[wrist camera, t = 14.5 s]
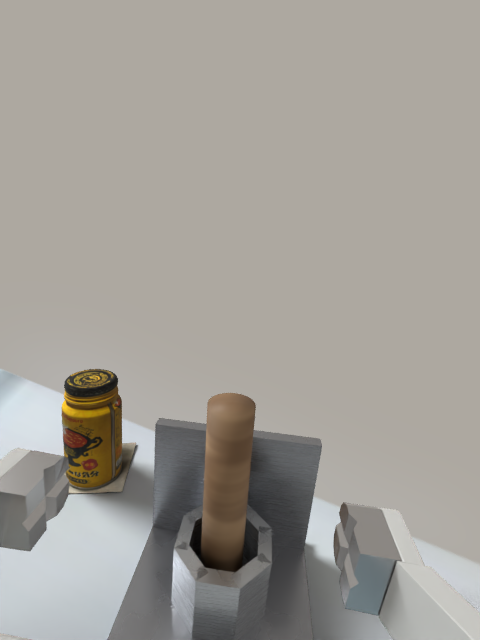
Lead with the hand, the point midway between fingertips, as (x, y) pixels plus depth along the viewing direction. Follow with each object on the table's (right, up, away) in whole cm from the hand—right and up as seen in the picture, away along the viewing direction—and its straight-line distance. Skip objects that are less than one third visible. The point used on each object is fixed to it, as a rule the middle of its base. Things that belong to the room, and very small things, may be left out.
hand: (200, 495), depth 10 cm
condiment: (-16, -13, +30) cm, 36 cm away
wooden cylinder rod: (0, -16, +16) cm, 23 cm away
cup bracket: (0, -17, +17) cm, 24 cm away
